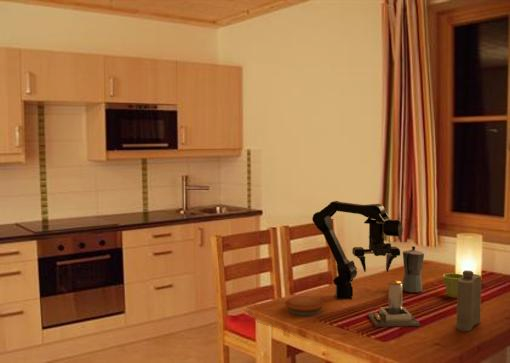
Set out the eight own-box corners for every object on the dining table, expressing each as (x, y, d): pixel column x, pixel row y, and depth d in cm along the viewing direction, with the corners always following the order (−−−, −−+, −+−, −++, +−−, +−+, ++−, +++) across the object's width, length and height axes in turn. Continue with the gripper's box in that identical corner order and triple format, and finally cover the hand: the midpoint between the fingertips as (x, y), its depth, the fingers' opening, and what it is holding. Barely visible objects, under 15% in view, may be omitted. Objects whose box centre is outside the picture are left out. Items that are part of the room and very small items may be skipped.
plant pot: (441, 297, 233) (442, 277, 232) (443, 291, 242) (443, 272, 241) (465, 299, 229) (465, 279, 229) (465, 293, 238) (466, 274, 237)
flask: (465, 318, 206) (467, 266, 205) (481, 321, 203) (483, 268, 201) (452, 329, 195) (453, 274, 193) (469, 332, 191) (470, 276, 189)
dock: (376, 326, 198) (376, 317, 197) (368, 316, 210) (368, 307, 209) (419, 326, 198) (419, 316, 198) (409, 315, 210) (409, 306, 210)
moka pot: (426, 288, 248) (427, 244, 246) (419, 296, 234) (420, 251, 232) (405, 285, 252) (405, 242, 250) (397, 294, 238) (397, 249, 237)
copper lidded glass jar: (387, 318, 203) (387, 282, 202) (389, 314, 208) (389, 279, 207) (401, 320, 202) (401, 283, 200) (402, 316, 206) (403, 280, 205)
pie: (302, 303, 227) (302, 291, 227) (331, 311, 216) (331, 299, 215) (276, 311, 216) (276, 299, 216) (306, 321, 205) (306, 308, 205)
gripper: (357, 238, 216) (357, 277, 217) (404, 237, 217) (404, 276, 218) (352, 233, 227) (352, 270, 228) (396, 233, 228) (396, 269, 229)
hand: (375, 271), depth 226 cm, fingers open, 9 cm apart
